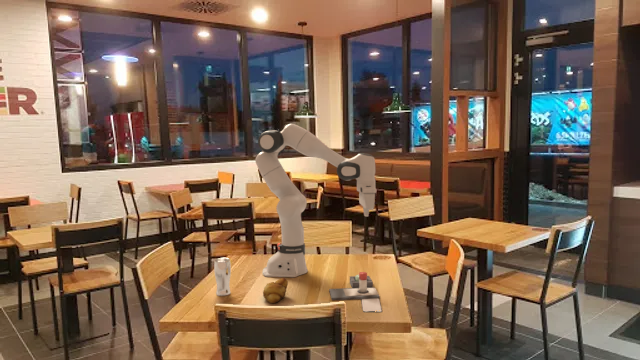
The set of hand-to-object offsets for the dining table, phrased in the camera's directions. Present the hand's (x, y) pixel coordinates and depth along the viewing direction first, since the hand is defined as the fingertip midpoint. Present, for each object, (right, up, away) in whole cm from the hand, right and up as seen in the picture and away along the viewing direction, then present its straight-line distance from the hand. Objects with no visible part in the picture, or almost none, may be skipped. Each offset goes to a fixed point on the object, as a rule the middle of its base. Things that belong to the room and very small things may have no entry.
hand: (366, 216), depth 217 cm
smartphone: (-1, -34, -34) cm, 48 cm away
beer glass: (-64, -32, -20) cm, 74 cm away
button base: (-4, -31, -12) cm, 33 cm away
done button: (-4, -30, -12) cm, 32 cm away
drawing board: (-8, -32, -23) cm, 40 cm away
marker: (-4, -30, -23) cm, 38 cm away
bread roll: (-41, -33, -27) cm, 59 cm away
